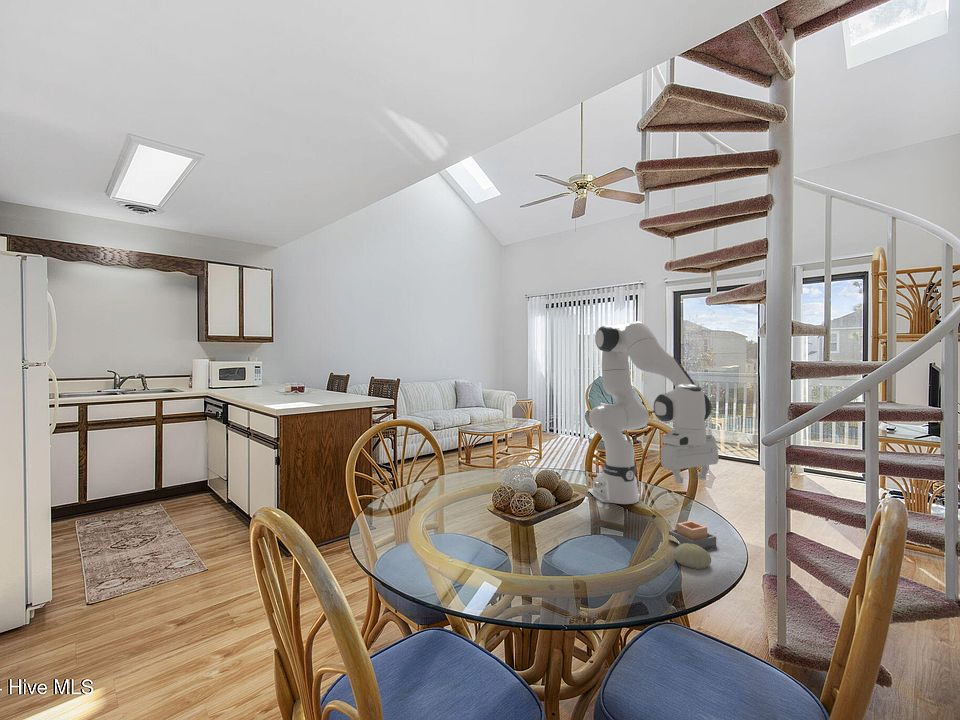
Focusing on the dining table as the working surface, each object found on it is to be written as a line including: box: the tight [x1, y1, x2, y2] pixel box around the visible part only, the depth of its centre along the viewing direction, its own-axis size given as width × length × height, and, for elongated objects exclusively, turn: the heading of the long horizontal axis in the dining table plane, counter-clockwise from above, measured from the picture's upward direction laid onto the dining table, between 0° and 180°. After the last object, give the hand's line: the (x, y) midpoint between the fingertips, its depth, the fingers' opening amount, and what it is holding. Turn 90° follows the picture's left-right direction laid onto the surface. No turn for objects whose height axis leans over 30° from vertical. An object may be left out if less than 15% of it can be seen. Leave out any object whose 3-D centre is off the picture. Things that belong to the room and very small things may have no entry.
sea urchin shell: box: [674, 543, 712, 570], centre depth 123 cm, size 9×8×8 cm
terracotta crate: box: [676, 520, 708, 541], centre depth 136 cm, size 6×6×5 cm
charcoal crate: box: [668, 528, 717, 550], centre depth 137 cm, size 9×9×3 cm
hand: (690, 481), depth 137 cm, fingers open, 8 cm apart
